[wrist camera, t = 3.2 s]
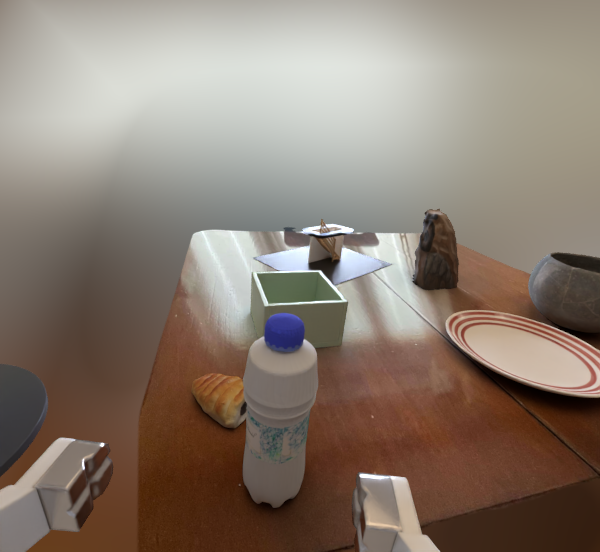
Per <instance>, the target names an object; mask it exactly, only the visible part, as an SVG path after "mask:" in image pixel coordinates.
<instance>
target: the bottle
mask: <svg viewBox="0 0 600 552" xmlns="http://www.w3.org/2000/svg"><path fill="white" fill-rule="evenodd" d="M304 334H305V327H304V323H303V321H302V320H301V319H300V318H299V317H298V316H296V315H293V314H289V313H279V314H275V315H272V316H271V317H270V318H269V319H268V320H267V322H266V324H265V332H264V337H261V338H259V339H258V340H256V341H255V342H254V343H253V344H252V345H251V347H250V349H249V353H248V359H247V364H246V369H245V374H244V377H243V386H244V391H243V393H244V399H245V401H246V403H247V417H246V444H245V452H244V460H243V480H244V484H245V485H246V487H247V489H248V491H249V493H250V495H251V497H252V499H253V501H254V502H256V503H257V504H260V503H261V502H266V503H270V504H271V505H272V507H273V508H277V507H280V506H281V505H282V504H283V503H284V502H285V501H286V500H287V499H292V498H294V497H295V496H296V495H297V493H298V491H299V489H300V487H301V483H302V480H303V476H304V470H305V447H306V439H307V432H308V424H309V416H310V408H311V407H312V406H313V404H314V401H315V399H316V391H317V389H318V375H317V353H316V350H315V349H314V347H313V346H312V345H311V344H310V343H309V342H308V341H306V340H305V339H304Z"/></svg>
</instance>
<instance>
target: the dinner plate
mask: <svg viewBox="0 0 600 552" xmlns="http://www.w3.org/2000/svg"><path fill="white" fill-rule="evenodd" d="M446 330H447V333H448V334H449V336H450V337H451V339H452V340H453V341H454V342H455V343H456V344H457V345H458V346H459V347H460V348H461V349H462V350H463V351H464V352H465V353H467V354H468V355H469V356H470V357H472V358H473V359H474V360H476V361H477V362H479V363H481V364H482V365H484V366H486V367H487V368H489V369H491V370H492V371H494V372H496V373H498V374H500V375H503V376H505V377H507V378H509V379H512V380H514V381H516V382H519V383H522V384H524V385H527V386H530V387H534V388H537V389H540V390H544V391H547V392H552V393H556V394H561V395H566V396H573V397H583V398H600V351H599V350H598V349H596V348H594V347H593V346H591V345H590V344H588V343H586V342H584V341H582V340H581V339H579V338H577V337H575V336H573V335H570V334H568V333H566V332H564V331H562V330H559V329H557V328H554V327H552V326H549V325H546V324H543V323H540V322H537V321H534V320H531V319H528V318H524V317H521V316H517V315H512V314H507V313H502V312H495V311H485V310H468V311H462V312H458V313H455V314H453V315H451V316H450V317H449V318H448V319H447V321H446Z"/></svg>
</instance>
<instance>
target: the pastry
mask: <svg viewBox="0 0 600 552" xmlns="http://www.w3.org/2000/svg"><path fill="white" fill-rule="evenodd" d="M243 391H244V386H243V380H242V379H241V378H240V377H238V376H234V377H233V376H226V375H223V374H212V373H210V374H207V375H205V376H203V377H201V378H199V379H196V380H194V382H193V385H192V394H193V395H194V397H195V398H196V399H197V402H198V403H199V404H200V405H201V407H202V409H203V411H204V412H205V413H208V415H209V416H210V417H212V418H213V419H214V420H216V421H217V422H219V424H221V425H222V426H224V427H228V428H236V427H237V426H239V425H240V424H241V423H242V422H243V421H244V420H245V418H246V417H247V403H246V401H245V399H244V393H243Z"/></svg>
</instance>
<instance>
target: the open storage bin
mask: <svg viewBox="0 0 600 552" xmlns="http://www.w3.org/2000/svg"><path fill="white" fill-rule="evenodd" d="M347 306H348V301H347V300H346V299H345V298H344V296H343V295H342V294H341V293H340V292H339V291H338V290H337V289H336V287H335V286H334V285H333V284H332V283H331V282H330V281H329V279H328V278H327V277H326V276H325V275H324V274H323V273H322V272H321V271H274V272H252V283H251V315H252V318H253V322H254V326H255V329H256V333H257V336H258V339H259V338H261V337H264V332H265V324H266V322H267V320H268V319H269V318H270V317H271V316H272V315H275V314H279V313H289V314H293V315H296V316H298V317H299V318H300V319H301V320H302V321H303V323H304V327H305V334H304V339H305V340H306V341H308V342H309V343H310V344H311V345H312V346H313V347H314V348H320V347H331V346H341V344H342V337H343V331H344V325H345V319H346V312H347Z"/></svg>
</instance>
